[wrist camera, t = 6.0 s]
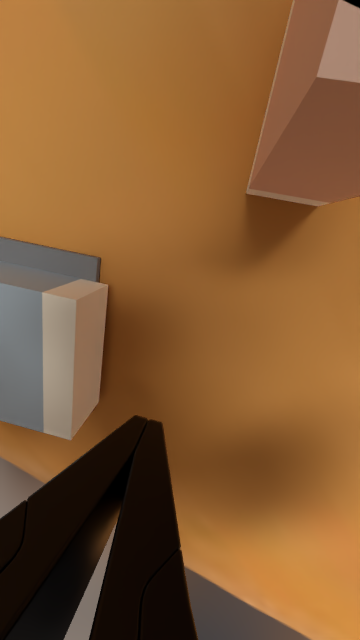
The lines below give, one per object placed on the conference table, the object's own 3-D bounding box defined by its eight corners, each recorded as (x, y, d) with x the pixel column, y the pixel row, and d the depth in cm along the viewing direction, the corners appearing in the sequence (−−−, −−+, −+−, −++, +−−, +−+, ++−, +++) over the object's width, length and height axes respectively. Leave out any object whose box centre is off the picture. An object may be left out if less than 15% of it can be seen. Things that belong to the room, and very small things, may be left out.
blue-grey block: (76, 300, 8) (-125, 254, 9) (71, 440, 10) (-92, 394, 11) (108, 284, 11) (-54, 249, 11) (98, 402, 13) (-38, 366, 13)
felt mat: (100, 257, 11) (97, 258, 10) (89, 411, 14) (86, 415, 13) (-72, 221, 11) (-79, 221, 11) (-48, 375, 14) (-53, 378, 14)
